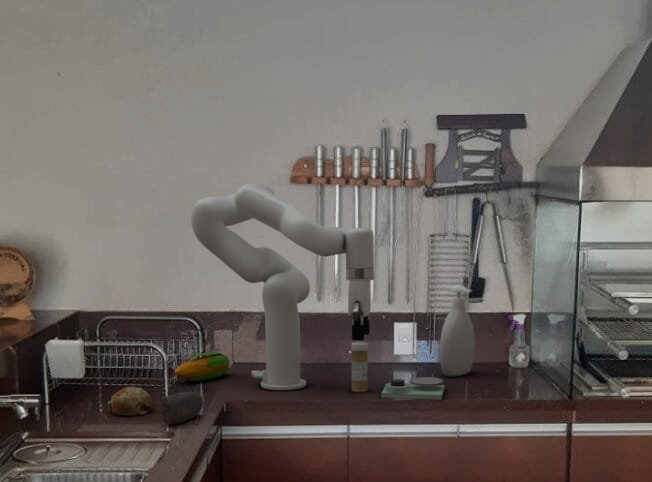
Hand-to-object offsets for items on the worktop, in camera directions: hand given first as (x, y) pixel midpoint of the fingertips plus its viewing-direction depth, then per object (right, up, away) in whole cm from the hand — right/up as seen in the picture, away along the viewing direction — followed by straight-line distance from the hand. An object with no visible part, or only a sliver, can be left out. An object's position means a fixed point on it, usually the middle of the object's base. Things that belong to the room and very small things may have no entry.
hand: (360, 337), depth 244 cm
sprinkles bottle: (-1, -15, +3) cm, 15 cm away
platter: (+18, -12, +1) cm, 22 cm away
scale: (+14, -15, 0) cm, 21 cm away
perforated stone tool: (-41, -20, -30) cm, 55 cm away
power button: (+10, -13, -3) cm, 17 cm away
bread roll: (-56, -19, -22) cm, 63 cm away
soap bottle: (+28, -11, +25) cm, 40 cm away
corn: (-46, -12, +16) cm, 50 cm away
